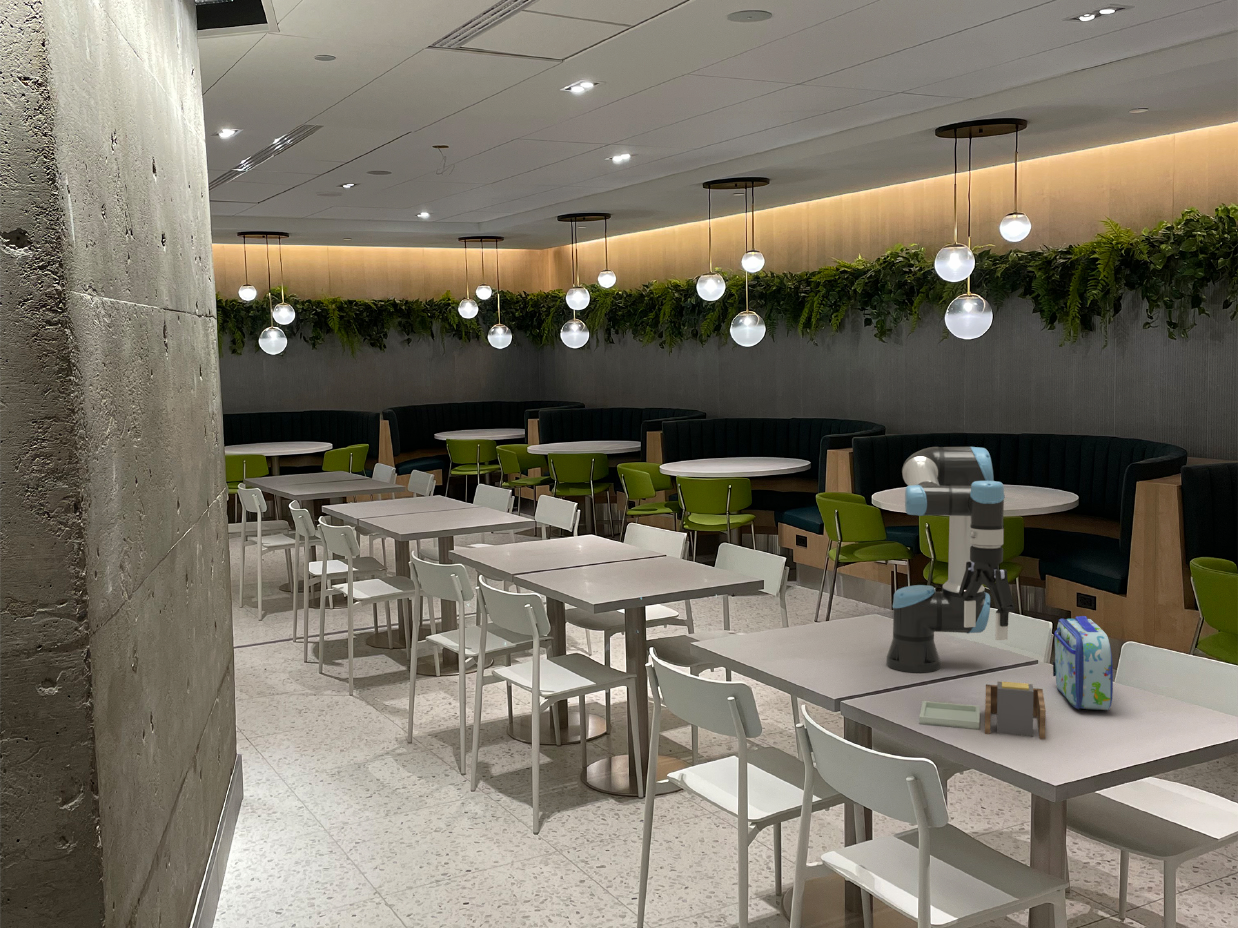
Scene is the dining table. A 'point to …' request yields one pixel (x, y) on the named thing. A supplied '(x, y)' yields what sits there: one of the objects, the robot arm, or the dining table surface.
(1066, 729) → the dining table surface
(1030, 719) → the grey box yellow panel
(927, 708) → the tray
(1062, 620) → the lunch box
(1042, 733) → the bay
